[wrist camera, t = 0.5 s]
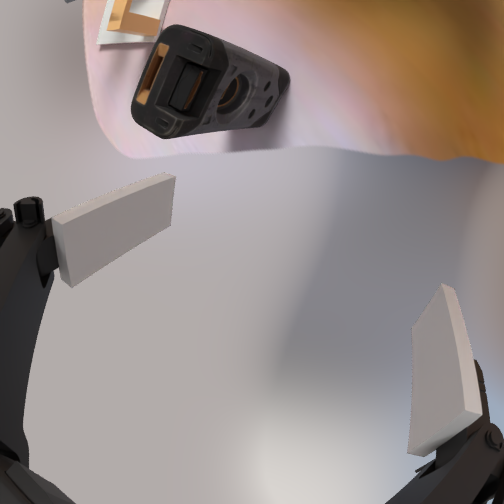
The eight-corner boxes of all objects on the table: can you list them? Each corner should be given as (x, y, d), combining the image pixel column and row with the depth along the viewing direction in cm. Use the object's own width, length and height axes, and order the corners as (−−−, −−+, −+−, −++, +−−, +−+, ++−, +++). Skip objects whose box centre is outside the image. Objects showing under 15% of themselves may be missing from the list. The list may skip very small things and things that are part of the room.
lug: (152, 3, 32) (116, -7, 25) (165, 2, 32) (130, -10, 25) (143, 36, 36) (106, 30, 29) (156, 36, 35) (119, 29, 28)
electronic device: (262, 131, 38) (169, 147, 21) (227, 111, 38) (123, 117, 22) (295, 74, 33) (220, 38, 16) (258, 56, 33) (163, 19, 17)
